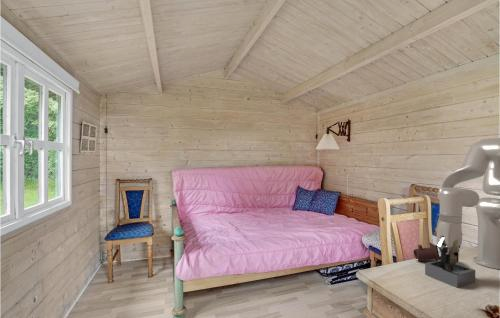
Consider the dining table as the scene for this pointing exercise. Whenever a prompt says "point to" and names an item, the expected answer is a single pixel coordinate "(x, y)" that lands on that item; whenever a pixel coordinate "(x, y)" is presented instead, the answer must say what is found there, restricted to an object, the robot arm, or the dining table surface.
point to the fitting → (450, 273)
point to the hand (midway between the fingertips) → (449, 261)
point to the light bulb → (452, 256)
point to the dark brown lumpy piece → (427, 252)
